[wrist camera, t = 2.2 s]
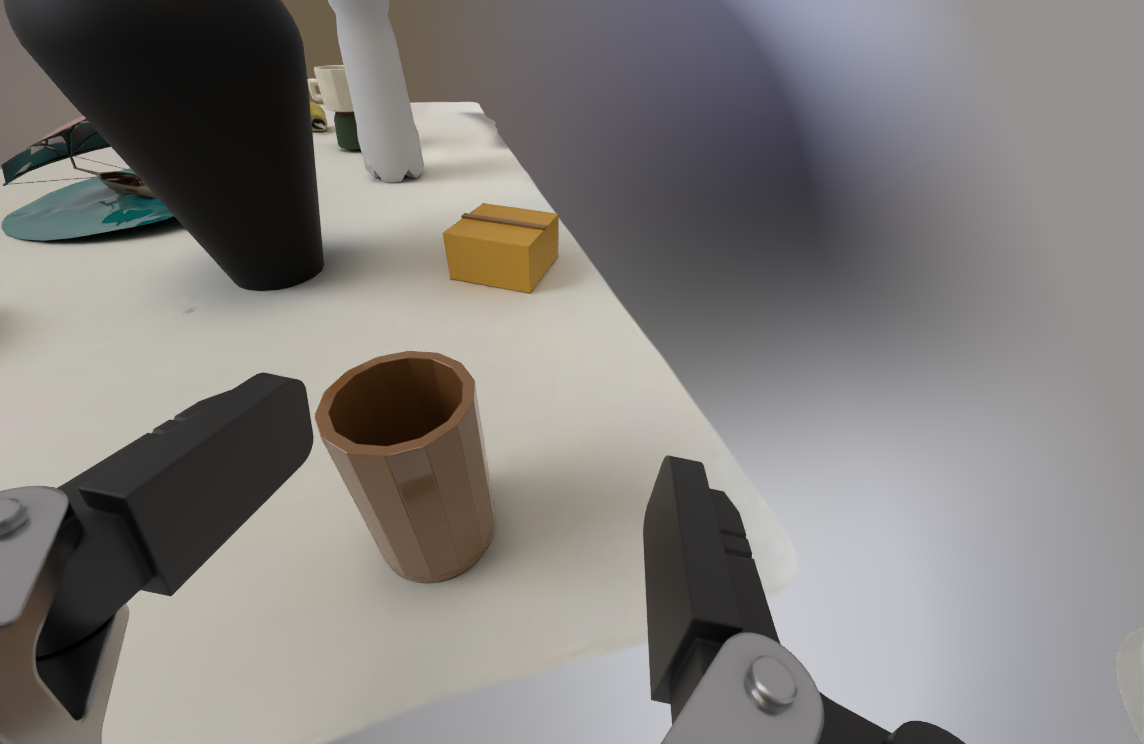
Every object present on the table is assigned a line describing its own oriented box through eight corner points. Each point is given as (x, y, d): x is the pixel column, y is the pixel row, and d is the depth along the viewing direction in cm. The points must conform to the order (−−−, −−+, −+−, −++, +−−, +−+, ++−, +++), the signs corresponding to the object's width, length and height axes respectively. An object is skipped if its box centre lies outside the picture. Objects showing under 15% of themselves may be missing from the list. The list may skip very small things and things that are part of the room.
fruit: (313, 137, 90) (285, 123, 93) (341, 142, 94) (313, 127, 98) (314, 106, 87) (285, 92, 90) (342, 112, 92) (314, 99, 95)
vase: (400, 262, 48) (265, -292, 25) (239, 336, 37) (-264, -544, 14) (307, 226, 55) (134, -237, 32) (147, 279, 43) (-294, -377, 21)
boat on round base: (172, 163, 73) (121, 86, 65) (303, 173, 66) (264, 87, 58) (-39, 239, 54) (-146, 141, 46) (115, 264, 47) (19, 153, 39)
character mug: (389, 144, 87) (372, 65, 79) (383, 153, 82) (363, 70, 73) (332, 144, 86) (309, 64, 77) (322, 153, 80) (295, 68, 72)
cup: (512, 496, 25) (498, 366, 19) (463, 600, 21) (423, 475, 14) (422, 470, 27) (380, 339, 20) (357, 563, 22) (277, 433, 16)
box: (559, 256, 50) (559, 211, 47) (531, 293, 43) (529, 244, 40) (486, 245, 52) (482, 200, 49) (449, 278, 45) (441, 230, 42)
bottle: (406, 164, 76) (356, -79, 57) (437, 176, 72) (394, -84, 53) (357, 175, 71) (284, -90, 52) (387, 188, 67) (320, -96, 47)
